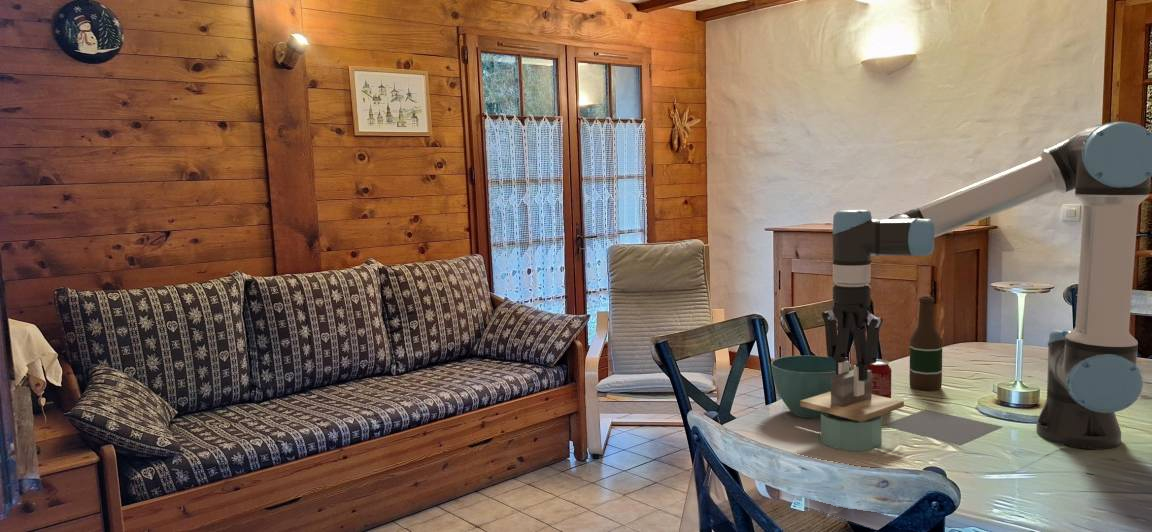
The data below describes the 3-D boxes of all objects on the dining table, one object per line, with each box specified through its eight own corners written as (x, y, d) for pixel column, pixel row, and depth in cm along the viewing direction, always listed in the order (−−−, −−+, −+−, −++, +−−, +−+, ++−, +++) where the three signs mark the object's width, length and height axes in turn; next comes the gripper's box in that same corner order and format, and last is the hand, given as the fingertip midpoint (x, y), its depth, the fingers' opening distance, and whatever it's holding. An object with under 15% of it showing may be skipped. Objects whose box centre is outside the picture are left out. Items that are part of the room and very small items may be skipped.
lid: (903, 406, 169) (904, 373, 169) (861, 421, 161) (861, 386, 160) (842, 392, 181) (842, 361, 181) (800, 406, 173) (799, 373, 172)
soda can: (893, 415, 189) (893, 365, 187) (863, 414, 190) (863, 364, 189) (888, 406, 195) (888, 358, 194) (859, 406, 197) (859, 358, 195)
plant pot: (756, 415, 192) (756, 365, 191) (796, 398, 205) (796, 351, 203) (826, 430, 179) (826, 376, 178) (864, 411, 192) (864, 361, 191)
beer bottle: (948, 388, 209) (950, 297, 206) (925, 392, 206) (926, 300, 203) (925, 382, 216) (926, 293, 213) (902, 385, 213) (903, 296, 210)
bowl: (892, 441, 171) (893, 414, 170) (859, 455, 163) (859, 426, 163) (843, 428, 180) (843, 402, 180) (809, 440, 173) (809, 413, 172)
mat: (1002, 428, 176) (1002, 426, 176) (960, 447, 166) (960, 445, 166) (925, 410, 191) (925, 409, 191) (881, 427, 180) (881, 425, 180)
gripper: (896, 285, 164) (896, 397, 166) (829, 278, 177) (830, 383, 179) (875, 289, 159) (874, 404, 162) (808, 282, 172) (808, 389, 175)
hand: (851, 393), depth 171 cm, fingers closed on lid, 3 cm apart
